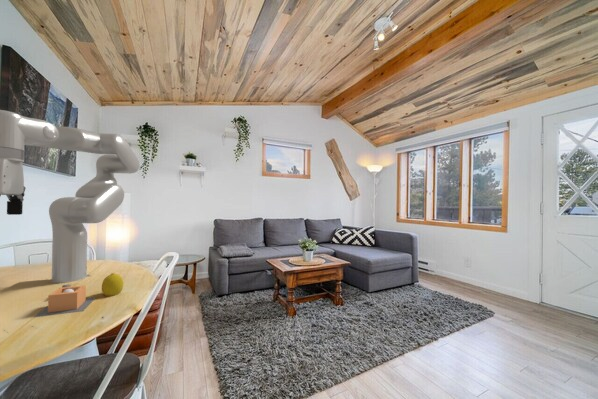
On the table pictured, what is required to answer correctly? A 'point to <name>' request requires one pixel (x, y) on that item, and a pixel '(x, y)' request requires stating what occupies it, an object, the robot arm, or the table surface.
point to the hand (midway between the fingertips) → (3, 215)
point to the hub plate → (81, 308)
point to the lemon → (112, 285)
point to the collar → (66, 299)
